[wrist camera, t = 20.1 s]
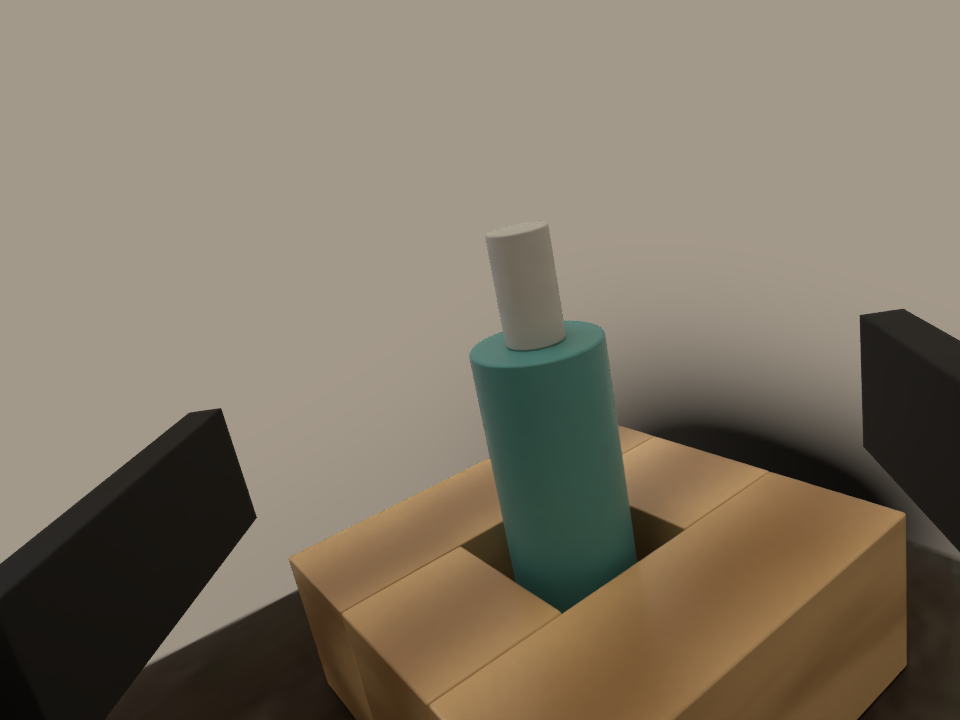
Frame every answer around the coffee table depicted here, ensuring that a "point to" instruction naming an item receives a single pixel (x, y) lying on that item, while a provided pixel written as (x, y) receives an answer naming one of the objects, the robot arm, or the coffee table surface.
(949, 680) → the coffee table surface
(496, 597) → the holder
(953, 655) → the coffee table surface
